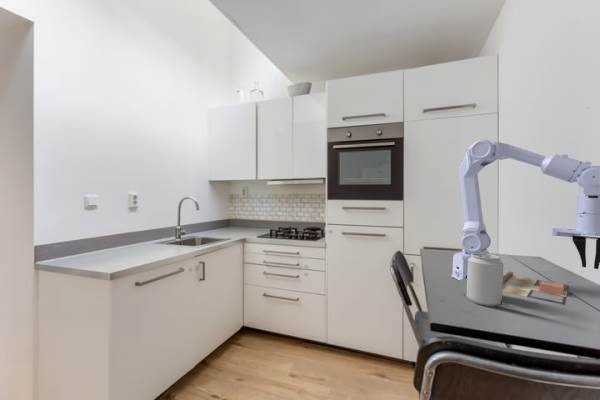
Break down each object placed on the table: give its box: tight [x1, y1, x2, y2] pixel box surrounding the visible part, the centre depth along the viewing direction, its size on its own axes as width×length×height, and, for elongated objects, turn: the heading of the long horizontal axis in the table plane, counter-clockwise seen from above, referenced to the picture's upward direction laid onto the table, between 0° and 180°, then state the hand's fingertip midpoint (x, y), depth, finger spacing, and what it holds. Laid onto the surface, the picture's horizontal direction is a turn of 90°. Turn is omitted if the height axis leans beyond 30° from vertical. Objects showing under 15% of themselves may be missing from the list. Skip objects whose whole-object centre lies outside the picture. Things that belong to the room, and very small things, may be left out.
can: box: [466, 253, 504, 307], centre depth 70 cm, size 8×8×12 cm
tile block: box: [539, 279, 565, 295], centre depth 75 cm, size 4×4×2 cm
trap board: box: [502, 271, 570, 306], centre depth 78 cm, size 14×22×3 cm, turn 134°
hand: (590, 267), depth 70 cm, fingers closed
